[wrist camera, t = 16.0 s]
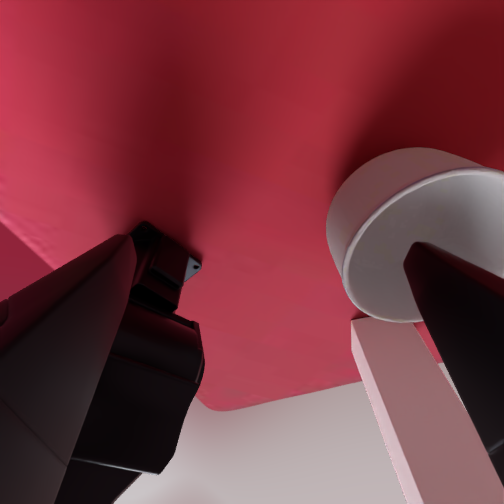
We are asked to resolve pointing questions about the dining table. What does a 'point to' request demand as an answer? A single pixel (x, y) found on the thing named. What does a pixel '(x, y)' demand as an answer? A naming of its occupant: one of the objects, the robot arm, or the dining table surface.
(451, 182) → the teacup
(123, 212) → the dining table surface
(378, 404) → the milk
